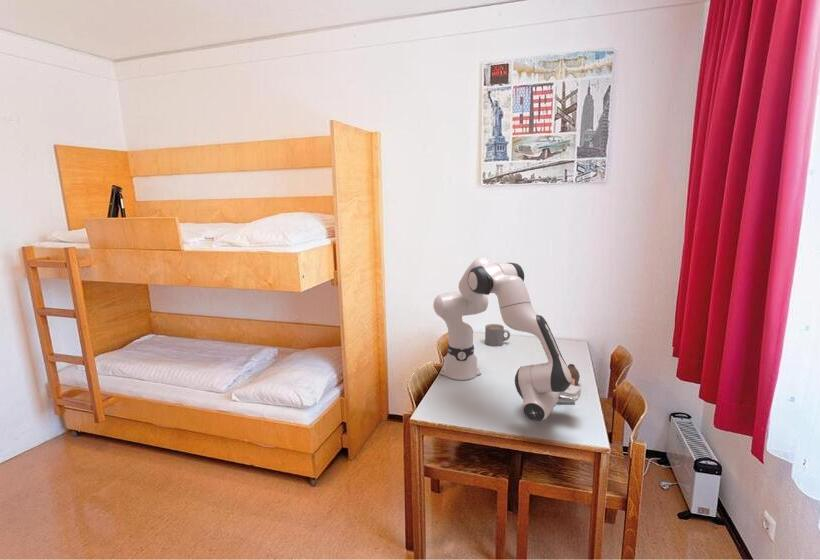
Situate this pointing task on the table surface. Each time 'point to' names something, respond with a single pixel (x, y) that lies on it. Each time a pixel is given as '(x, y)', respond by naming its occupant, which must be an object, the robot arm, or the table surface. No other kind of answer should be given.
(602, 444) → the table surface
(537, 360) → the table surface
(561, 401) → the grey pad
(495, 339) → the coffee mug
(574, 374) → the vase
